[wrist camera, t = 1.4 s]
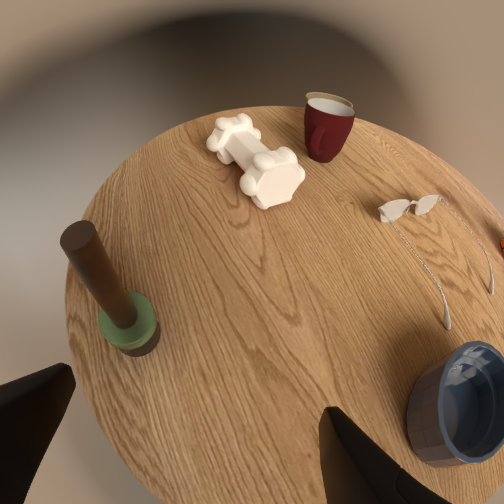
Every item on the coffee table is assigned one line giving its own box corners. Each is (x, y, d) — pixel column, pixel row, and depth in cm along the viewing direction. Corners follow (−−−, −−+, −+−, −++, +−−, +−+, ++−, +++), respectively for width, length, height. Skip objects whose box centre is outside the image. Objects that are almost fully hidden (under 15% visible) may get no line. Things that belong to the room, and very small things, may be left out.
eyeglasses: (431, 210, 40) (441, 192, 37) (494, 293, 29) (509, 278, 26) (368, 224, 36) (378, 202, 33) (442, 335, 25) (463, 318, 22)
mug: (336, 182, 42) (352, 126, 34) (288, 167, 43) (297, 111, 36) (344, 154, 48) (356, 107, 40) (303, 142, 50) (312, 94, 42)
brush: (122, 367, 22) (43, 285, 11) (106, 321, 24) (40, 224, 14) (171, 345, 24) (126, 247, 13) (150, 302, 26) (108, 194, 16)
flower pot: (338, 122, 59) (344, 96, 53) (351, 142, 52) (359, 112, 47) (297, 117, 58) (301, 89, 52) (305, 136, 52) (311, 104, 46)
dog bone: (303, 202, 38) (314, 152, 31) (246, 219, 35) (250, 164, 29) (252, 151, 46) (255, 108, 40) (204, 161, 43) (203, 116, 37)
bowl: (440, 489, 14) (477, 487, 10) (381, 415, 20) (414, 403, 16) (494, 408, 18) (526, 393, 14) (445, 341, 25) (475, 318, 21)
